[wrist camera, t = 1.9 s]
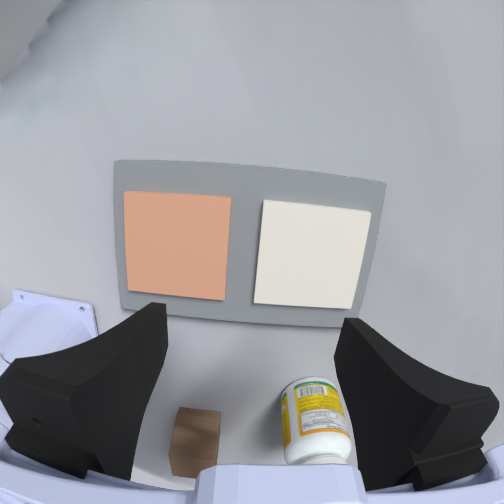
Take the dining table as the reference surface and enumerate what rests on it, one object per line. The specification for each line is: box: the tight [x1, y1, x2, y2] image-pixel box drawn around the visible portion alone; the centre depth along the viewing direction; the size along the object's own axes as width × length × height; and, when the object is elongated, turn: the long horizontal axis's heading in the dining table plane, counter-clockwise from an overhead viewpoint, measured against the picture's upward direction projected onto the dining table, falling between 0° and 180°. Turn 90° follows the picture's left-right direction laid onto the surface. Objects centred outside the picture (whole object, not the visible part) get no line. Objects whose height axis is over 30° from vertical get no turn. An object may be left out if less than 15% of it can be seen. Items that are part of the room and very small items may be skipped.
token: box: [168, 407, 221, 479], centre depth 26 cm, size 4×4×6 cm
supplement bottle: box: [281, 377, 351, 465], centre depth 23 cm, size 5×5×10 cm
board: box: [114, 160, 386, 327], centre depth 21 cm, size 18×11×2 cm, turn 85°
